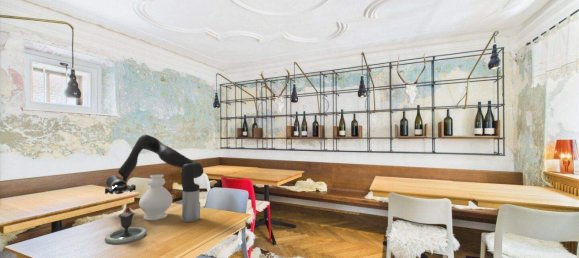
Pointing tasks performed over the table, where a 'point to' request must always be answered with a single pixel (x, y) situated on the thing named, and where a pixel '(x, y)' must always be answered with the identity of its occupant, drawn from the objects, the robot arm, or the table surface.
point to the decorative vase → (155, 199)
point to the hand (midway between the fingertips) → (121, 191)
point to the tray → (116, 239)
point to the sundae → (126, 221)
